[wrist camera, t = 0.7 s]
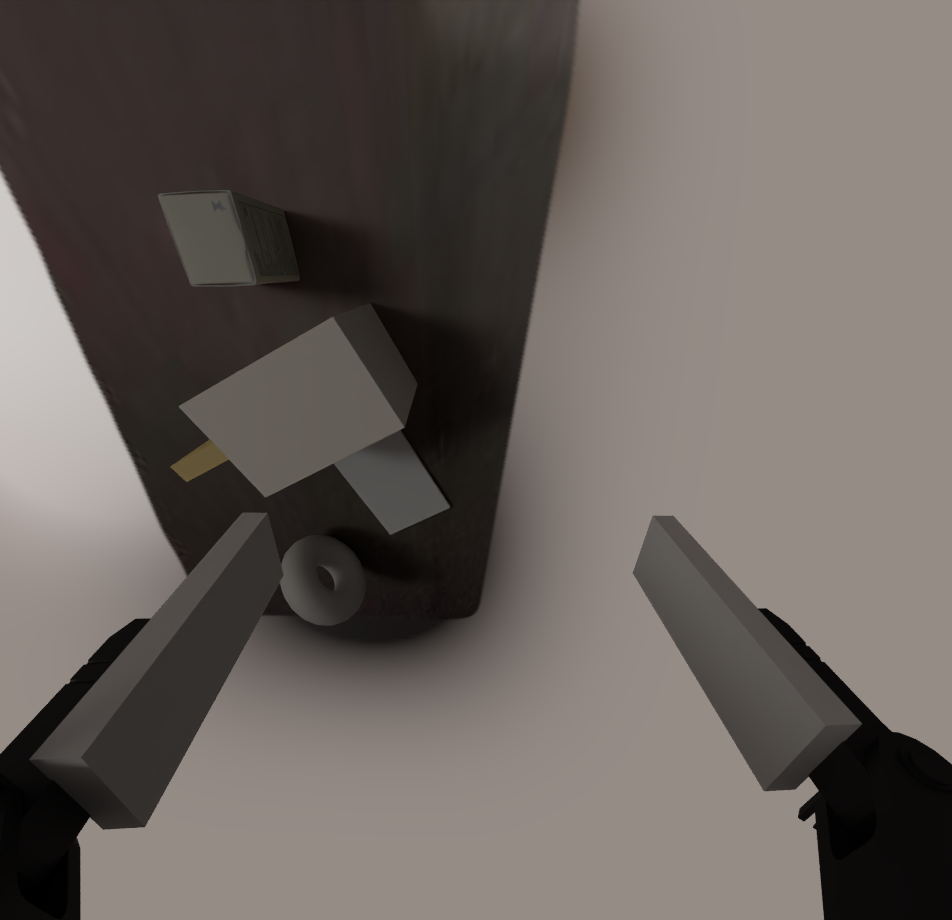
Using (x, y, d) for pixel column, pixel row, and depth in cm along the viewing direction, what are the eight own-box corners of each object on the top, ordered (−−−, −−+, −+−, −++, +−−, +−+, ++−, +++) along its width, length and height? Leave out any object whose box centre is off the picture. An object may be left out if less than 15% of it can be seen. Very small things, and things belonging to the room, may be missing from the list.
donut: (295, 528, 41) (253, 598, 33) (315, 512, 41) (277, 579, 32) (359, 576, 45) (337, 649, 37) (379, 562, 45) (361, 634, 36)
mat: (327, 452, 37) (326, 454, 37) (393, 419, 36) (392, 420, 36) (390, 532, 42) (390, 534, 42) (450, 505, 41) (450, 507, 41)
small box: (228, 211, 27) (152, 190, 20) (285, 209, 28) (229, 187, 21) (250, 284, 30) (188, 287, 23) (302, 282, 30) (257, 285, 23)
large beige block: (252, 370, 33) (168, 411, 23) (370, 302, 31) (332, 316, 21) (308, 440, 36) (256, 501, 27) (417, 383, 34) (404, 427, 25)
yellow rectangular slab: (226, 427, 35) (170, 466, 28) (317, 377, 34) (282, 405, 27) (238, 440, 36) (186, 482, 29) (328, 392, 34) (296, 423, 27)
